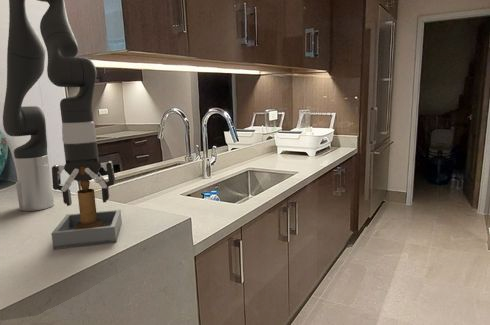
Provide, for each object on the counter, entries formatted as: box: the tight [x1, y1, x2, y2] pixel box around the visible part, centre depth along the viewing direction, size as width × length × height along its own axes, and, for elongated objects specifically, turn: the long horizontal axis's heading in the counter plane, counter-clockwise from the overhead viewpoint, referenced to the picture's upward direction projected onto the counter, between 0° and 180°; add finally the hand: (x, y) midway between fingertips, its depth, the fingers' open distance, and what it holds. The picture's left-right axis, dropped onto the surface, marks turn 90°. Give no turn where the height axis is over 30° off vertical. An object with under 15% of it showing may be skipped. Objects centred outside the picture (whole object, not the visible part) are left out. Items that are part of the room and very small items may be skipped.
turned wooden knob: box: [76, 167, 103, 229], centre depth 88 cm, size 7×6×18 cm
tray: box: [51, 209, 123, 250], centre depth 89 cm, size 14×14×4 cm
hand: (87, 203), depth 88 cm, fingers open, 8 cm apart
